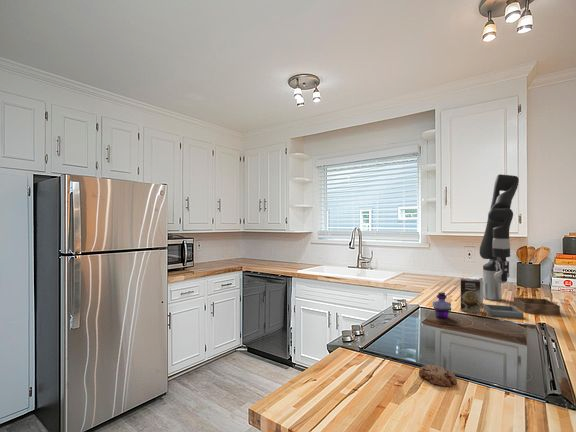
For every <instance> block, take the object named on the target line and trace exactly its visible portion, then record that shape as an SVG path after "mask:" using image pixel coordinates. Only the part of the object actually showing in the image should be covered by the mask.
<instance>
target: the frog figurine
mask: <svg viewBox="0 0 576 432" xmlns="http://www.w3.org/2000/svg"><path fill="white" fill-rule="evenodd" d="M504 271H505V270H504ZM494 277H495V278H496V281H497V282H499V283H501V284H505V283H506V282H503V281H502V280H501V270H500V271H498V272H496V273H495V275H494ZM508 278H510V272H509V273H508V274H507V279H508Z"/></svg>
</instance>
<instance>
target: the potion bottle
mask: <svg viewBox="0 0 576 432" xmlns="http://www.w3.org/2000/svg"><path fill="white" fill-rule="evenodd" d="M436 299H438V300H434V301H433V302H432V306H433V310H434V312H435V317H436V318H438V319H442V320H444V319H445V320H448V319H449V314H450V313H452V303H451V302H449V301H446V299H447V294H446V293H445V292H441V291H439V292H437V294H436Z"/></svg>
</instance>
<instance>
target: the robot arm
mask: <svg viewBox="0 0 576 432" xmlns="http://www.w3.org/2000/svg"><path fill="white" fill-rule="evenodd" d="M519 180H520V179H519V176H517V175H512V174H511V175H510V174H501V173H500V174H498V175H497V176H496V177H495V181H494V185H493V186H494V187H493V193H492V198H491V200H492V201H491V204H490V208H489V211H488V214H487V222H486V226H485V230H484V235H483V237H482V239H481V242H480V246H479V255H480V257H481V258H482V259H484V260H489V261H488V262H487V263H485V264H483V265H482V269H483V270H482V278H483V299H484V300H490V301H502V295H503V294H502V283H499V282H497V281H496V278H495V277H494V275H495V273H496V272H498V271H500V270H501V280H502V281H503V282H505V283H507V282H508V278H507V274H508V273H509V274H510V261H507V258H510V257H511V240H510V228H511V224H512V221H513V217H514V212H513V210H512V209H511V206H512V201H513V198H515V197H514V196H515V195H516V192H517V190H518V186H519V182H520V181H519ZM500 192H502V193H500ZM504 270H505V271H504Z"/></svg>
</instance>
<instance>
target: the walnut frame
mask: <svg viewBox="0 0 576 432" xmlns="http://www.w3.org/2000/svg"><path fill="white" fill-rule="evenodd" d="M513 307H515V308H516V309H518V310H519V311H521V312H522V313H526V314H537V315H539V314H540V315H541V314H542V315H552V316H553V315H554V316H561V306H560V305H558V304H557V303H555V302H553V301H551V300H549V299H547V298H535V297H533V298H532V297H517V296H516V297H515V296H514V297H513Z"/></svg>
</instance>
